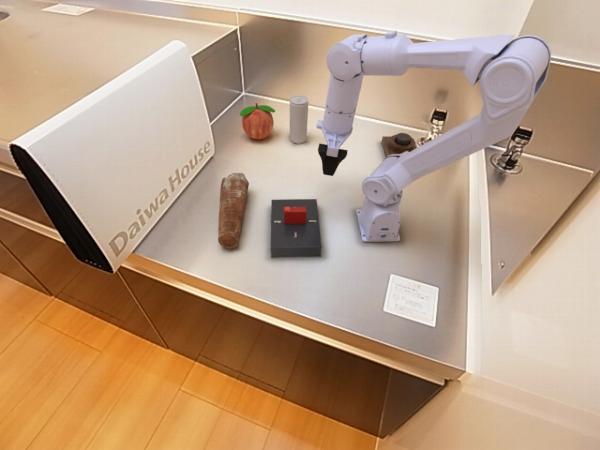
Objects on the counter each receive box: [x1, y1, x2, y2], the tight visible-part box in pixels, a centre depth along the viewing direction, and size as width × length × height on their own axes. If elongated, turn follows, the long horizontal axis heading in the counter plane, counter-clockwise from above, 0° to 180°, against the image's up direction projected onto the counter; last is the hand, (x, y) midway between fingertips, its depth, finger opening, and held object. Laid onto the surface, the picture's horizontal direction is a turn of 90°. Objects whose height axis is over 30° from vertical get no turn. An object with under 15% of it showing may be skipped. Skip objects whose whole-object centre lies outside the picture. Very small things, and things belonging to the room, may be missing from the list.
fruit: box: [239, 102, 276, 140], centre depth 101 cm, size 9×10×10 cm
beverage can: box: [289, 94, 309, 144], centre depth 99 cm, size 5×5×12 cm
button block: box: [380, 133, 417, 158], centre depth 98 cm, size 10×8×4 cm
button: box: [395, 132, 412, 146], centre depth 96 cm, size 4×4×2 cm
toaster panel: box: [270, 198, 323, 258], centre depth 78 cm, size 14×10×3 cm
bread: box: [217, 172, 250, 249], centre depth 79 cm, size 6×19×6 cm, turn 0°
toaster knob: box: [284, 207, 306, 224], centre depth 75 cm, size 4×1×4 cm, turn 92°
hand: (330, 162), depth 79 cm, fingers open, 7 cm apart
